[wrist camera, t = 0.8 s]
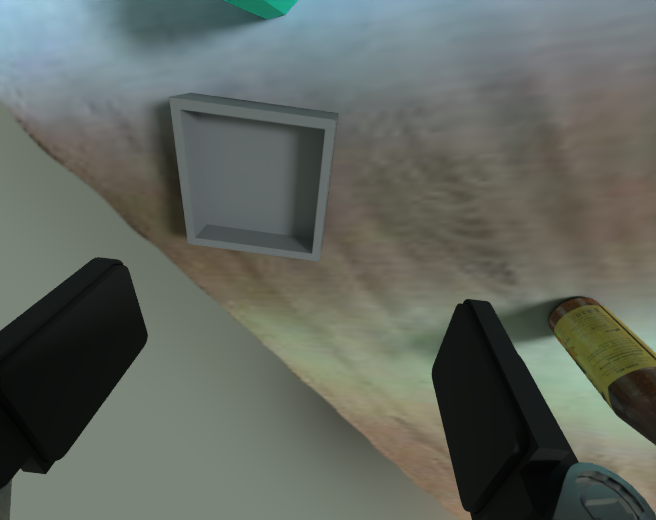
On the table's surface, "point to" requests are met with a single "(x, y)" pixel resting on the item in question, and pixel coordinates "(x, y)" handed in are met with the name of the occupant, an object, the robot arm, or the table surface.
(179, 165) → the box
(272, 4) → the candle
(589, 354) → the sauce bottle
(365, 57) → the table surface
